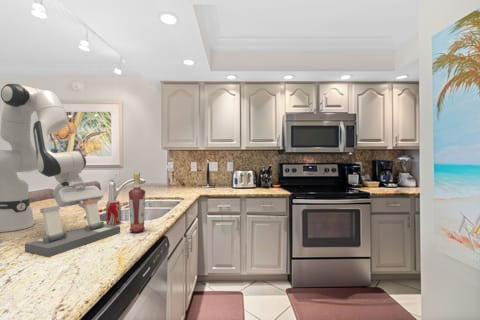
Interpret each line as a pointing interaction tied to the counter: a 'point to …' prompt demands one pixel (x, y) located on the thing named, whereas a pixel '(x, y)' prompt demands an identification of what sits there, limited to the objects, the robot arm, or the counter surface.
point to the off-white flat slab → (92, 213)
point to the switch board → (70, 240)
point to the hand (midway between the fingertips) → (89, 208)
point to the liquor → (137, 206)
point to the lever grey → (52, 222)
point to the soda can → (113, 212)
